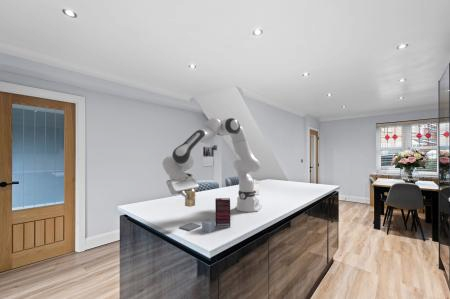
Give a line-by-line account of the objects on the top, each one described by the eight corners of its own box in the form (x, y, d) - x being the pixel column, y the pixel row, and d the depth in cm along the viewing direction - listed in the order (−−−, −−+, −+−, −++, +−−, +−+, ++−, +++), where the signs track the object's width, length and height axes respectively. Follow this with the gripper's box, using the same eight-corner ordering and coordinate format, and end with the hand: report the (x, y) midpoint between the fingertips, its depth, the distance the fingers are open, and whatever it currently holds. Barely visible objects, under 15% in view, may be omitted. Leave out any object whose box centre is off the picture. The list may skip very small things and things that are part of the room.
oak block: (189, 204, 119) (190, 190, 120) (195, 205, 117) (195, 191, 117) (185, 205, 116) (185, 191, 116) (190, 206, 114) (190, 192, 114)
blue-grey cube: (207, 228, 115) (207, 219, 115) (215, 230, 112) (215, 221, 112) (202, 231, 111) (202, 221, 111) (209, 233, 108) (209, 223, 108)
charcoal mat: (190, 223, 122) (190, 222, 122) (200, 226, 118) (200, 225, 118) (179, 228, 115) (179, 227, 115) (189, 231, 110) (189, 230, 110)
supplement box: (230, 224, 121) (230, 197, 121) (230, 227, 116) (230, 199, 116) (215, 224, 120) (215, 197, 121) (215, 227, 116) (215, 199, 116)
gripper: (167, 176, 112) (180, 196, 107) (193, 173, 129) (205, 191, 123) (162, 184, 115) (174, 204, 109) (188, 180, 132) (199, 197, 126)
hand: (190, 197), depth 116 cm, fingers closed on oak block, 4 cm apart
